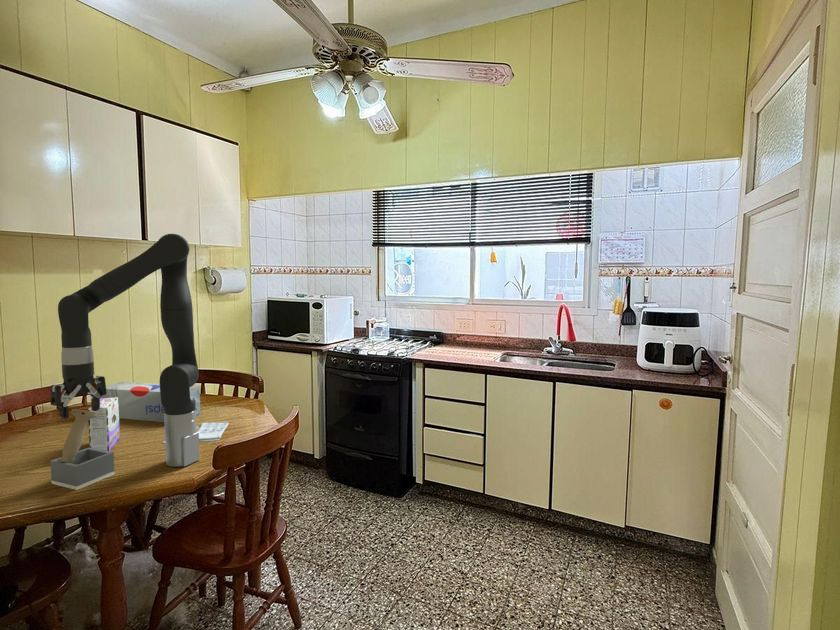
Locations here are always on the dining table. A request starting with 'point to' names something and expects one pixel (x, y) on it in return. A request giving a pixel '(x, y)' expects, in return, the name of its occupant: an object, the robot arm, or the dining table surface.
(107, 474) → the socket
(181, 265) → the robot arm
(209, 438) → the folded bicycle print towel
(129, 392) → the soda pack
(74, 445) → the handle
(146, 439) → the dining table surface
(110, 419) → the candy box
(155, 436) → the dining table surface
